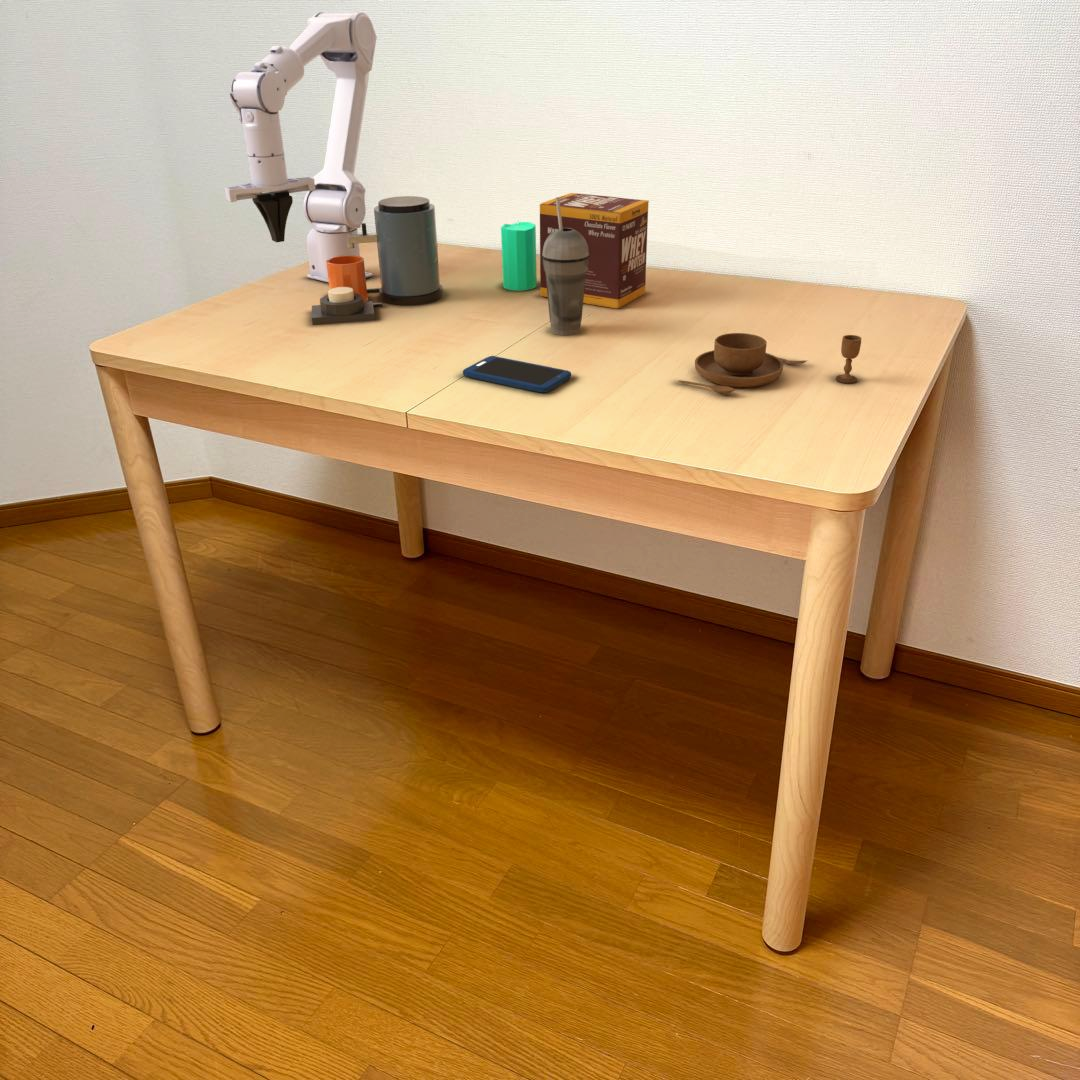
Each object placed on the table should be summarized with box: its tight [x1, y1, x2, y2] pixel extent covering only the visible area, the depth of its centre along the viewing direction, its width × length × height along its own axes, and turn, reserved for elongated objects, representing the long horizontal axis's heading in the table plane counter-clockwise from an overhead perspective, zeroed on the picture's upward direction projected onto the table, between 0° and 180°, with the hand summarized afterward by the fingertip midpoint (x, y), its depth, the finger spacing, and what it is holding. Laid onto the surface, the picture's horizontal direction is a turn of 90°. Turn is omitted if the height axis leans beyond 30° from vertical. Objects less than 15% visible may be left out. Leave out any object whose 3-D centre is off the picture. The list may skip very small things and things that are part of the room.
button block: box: [311, 293, 376, 326], centre depth 166 cm, size 10×7×3 cm
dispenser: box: [347, 195, 444, 309], centre depth 171 cm, size 19×11×16 cm, turn 101°
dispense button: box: [327, 287, 354, 303], centre depth 165 cm, size 4×4×2 cm
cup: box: [326, 255, 369, 302], centre depth 172 cm, size 6×6×7 cm
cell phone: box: [462, 355, 572, 394], centre depth 141 cm, size 7×14×1 cm, turn 58°
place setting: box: [677, 332, 862, 394], centre depth 136 cm, size 18×20×6 cm
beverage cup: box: [541, 196, 590, 336], centre depth 153 cm, size 7×7×20 cm
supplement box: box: [539, 192, 650, 309], centre depth 171 cm, size 10×15×16 cm
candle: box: [500, 221, 538, 292], centre depth 177 cm, size 6×6×12 cm
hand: (278, 240), depth 169 cm, fingers closed
